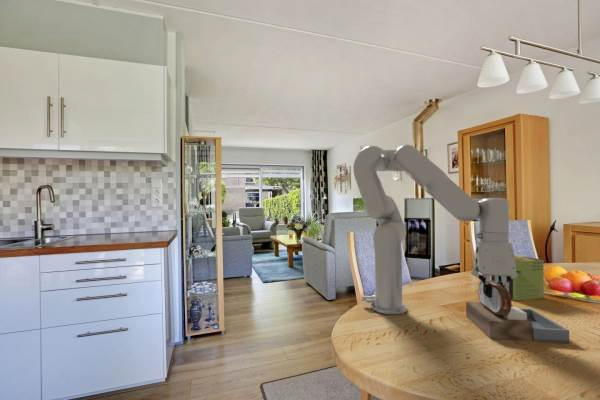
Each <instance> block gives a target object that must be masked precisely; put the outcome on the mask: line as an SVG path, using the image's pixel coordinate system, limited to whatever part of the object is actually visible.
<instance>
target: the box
mask: <svg viewBox="0 0 600 400" xmlns="http://www.w3.org/2000/svg"><path fill="white" fill-rule="evenodd" d="M518 308H519V307H518ZM519 309H521V310H522V311H524V312H525V313H527V320H528V321H530V322H531V323H532V342H542V343H543V342H544V343H559V344H560V343H563V344H567V343H568V344H569V343H570V330H569V329H568V328H566V327H564V326H562V325H560V324H558V323H557V322H555V321H554V320H552V319H550V318H548V317H546V316H545V315H543V314H541V313H539V312H538V311H536V310H534V309H532V308H519Z"/></svg>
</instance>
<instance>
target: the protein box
mask: <svg viewBox="0 0 600 400" xmlns="http://www.w3.org/2000/svg"><path fill="white" fill-rule="evenodd" d="M544 263H545V262H544V259H540V258H535V257H531V256H530V257H529V256H525V255H515V264H516V273H517V275H518V276H517V277H515V278H513V279H511V280H510V281H509V282H508V283H507V285H505V288H506V289H507V290H508V292H509V294H510V297H511V301H513V302H514V301H525V300H535V299H536V300H537V299H544V298H545V297H544V296H545V295H544V294H545V293H544V274H545V273H544V271H545V270H544ZM490 280H493V281H494V282H496V283H498V276H491V275H490Z"/></svg>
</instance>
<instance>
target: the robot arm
mask: <svg viewBox="0 0 600 400" xmlns="http://www.w3.org/2000/svg"><path fill="white" fill-rule="evenodd" d="M378 172H404V173H405V174H406V175H407V176H408V177H409V178H410V179H411V180H413V181H414V182H415V183H416V184H417V185H418V186H419V187H421V189H423V190H424V192H425V193H427V194H428V195H430V196H431V197H432V198H433V199H434V200H435V201H436V202H437V203H439V204H440V206H442V207H443V208H444V209H445V210H447V212H449V214H450V215H452V217H454V218H455V219H456V220H458V221H460V222H472V221H474V220H479V231H478V233H475V234H474V238H475V239H478V240H477V242H476V247H475V252H474V261H473V262H474V266H473V268H472V269H471V272H470V275H471V276H473V277H475V278H478V279H479V281H480V282H481V281H482V282H483V293H484V294H485V296H487V297H488V298H491V297H492V286H491V285H490V280H491V276H498V284H500V285H501V286H503V287H505V285H507V283H508V282H509V281H510V280H511V279H513V278H515V277H517V276H518V275H517V273H516V264H515V256H516V255H515V251H514V246H513V243H512V242H510V240H509V238H510V236H509V235H510V234H509V231H510V229H509V228H510V227H509V224H510V223H509V220H510V218H509V217H510V216H509V215H510V213H509V211H510V210H509V209H510V207H509V200H507V199H506V198H504V197H503V198H502V197H486V198H474V197H472V196H471V195H469V194H468V193H467V192H466V191H465V190H463V189H462V188H461V187H460V186H459V185H457V183H455V182H454V181H453V180H452V179H451V178H450V177H449V176H448V175H447V174H446V173H445V172H444V171H443V169H441V168H440V167H439V166H438V165H436V164H435V163H434V162H433V161H431V159H429V158H428V157H427V156H426V155H424V154H423V153H422V152H421V151H420V150H419V149H418V148H416V147H415V146H413V145H412V144H403V145H401V146H399V147H398V148H397V149H383V148H381V147H379V146H377V145H368V146H365V147H364V148H362V149H361V150H360V151H359V152H358V153H357V155H356V157H355V159H354V162H353V175H354V180H355V183H356V185H357V187H358V190H359V193H360V194H359V195H360V196H361V200H362V201H363V204H364V208H365V211H366V213H367V215H368V217H370V218H371V219H373V220H376V222H377V224H378V225H377V226H376V228H375V229H374V232H373V235H372V239H373V241H372V242H373V249H374V287H375V288H374V292H373V295H372V294H370V295H362V296H361V297H362V299H361V301H363V302H365V303H366V304H370V308H371V309H372V310H373V311H375V312H378V313H380V314H384V315H390V316H391V315H392V316H393V315H397V316H398V315H401V314H405V313H406V312H407V310H408V308H407V305H406V304H405V303H403V254H402V253H403V252H402V242H404V240H405V239H406V235H407V229H406V227H405V223H404V220H403V218H402V216H401V212H400V210H399V209H398V208H399V207H398V206H397V203H396V201H395V200H394V199H393V198H392V197H391V196H390V195H387V194H386V192H385V190H384V186H383V184H382V181H381V180H380V177H379V175H378Z"/></svg>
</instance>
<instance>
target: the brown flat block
mask: <svg viewBox="0 0 600 400" xmlns="http://www.w3.org/2000/svg"><path fill="white" fill-rule="evenodd" d="M465 306H466V307H465V309H466V310H465V316H466V318H468V320H469V321H470V322H472V323H473V324H474V325H475V326H476V327H477V328H478V329H479V330H480V331H481V332H483V334H484V335H485V336H487V338H489V339H490V340H491V339H494V340H506V341H507V340H510V341H526V342H527V341H528V342H533V340H532V323H531V322H530V321H528V320H510V319H507V318H505V317H504V316H503V315H497V314H494V313H493V312H492V311H490V310H489V309H488V308H486V307H485V306H484V305H483V304H482V303H481V302H480V301H466V302H465Z"/></svg>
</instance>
